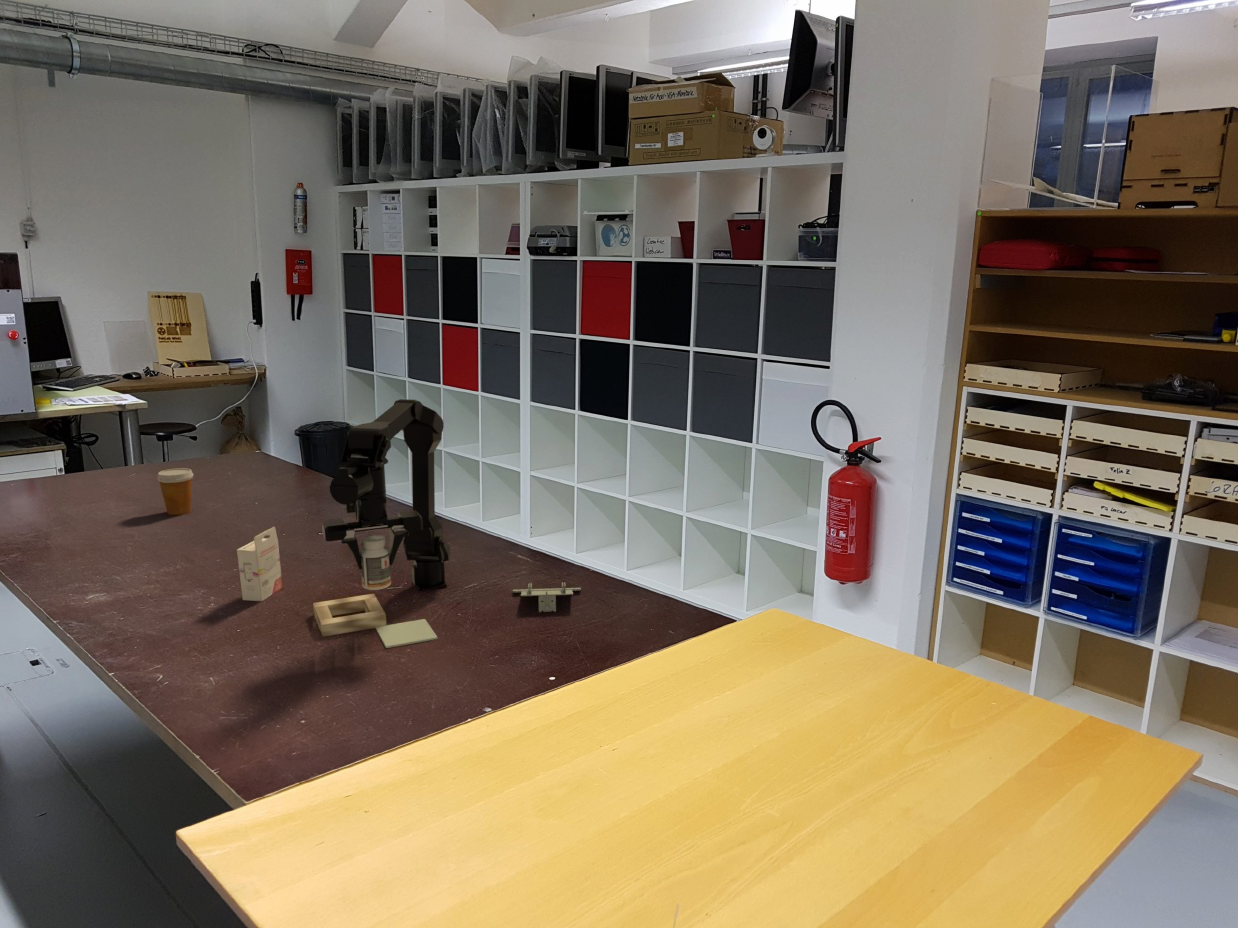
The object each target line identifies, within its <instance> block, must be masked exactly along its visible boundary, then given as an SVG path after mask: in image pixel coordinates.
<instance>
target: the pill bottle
mask: <svg viewBox="0 0 1238 928" xmlns="http://www.w3.org/2000/svg"><path fill="white" fill-rule="evenodd" d="M360 541H361V542H360V544H361V547H362V549H361V550H360V551H359V553H360V558H361V569H360V576H361V586H362V587H363V588H364V589H366V590H368V591H370V590H371V591H378V590H382V589H383V590H384V589H386V588H388V587H389V586H390V585H392V573H391V565H390V559H389V547H386V544H387V540H386V536H384V535H380V534H379V535H378V534H377V535H375V534H373V535H367V536H363V537H362V538H361V539H360Z"/></svg>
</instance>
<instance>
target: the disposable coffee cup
mask: <svg viewBox="0 0 1238 928" xmlns="http://www.w3.org/2000/svg"><path fill="white" fill-rule="evenodd" d="M193 478H194V473H193V471H192V469H191V468H188V467H187V468H186V467H185V468H184V467H183V468H182V467H181V468H179V467H177V468H169V469H164V470H160V471H159V472H158V474H157V476H156V479H157V480H158V482H159V486H160V490H161V493H162V494H161V495H162V498H163V501H164V506H165V509H166V513H167V514H168V515H169V516H180V515H181V516H182V515H187V514H189V513H190V512H191V513H192V503H193V500H192V499H193V497H192V496H193V494H192V492H193Z"/></svg>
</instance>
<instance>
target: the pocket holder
mask: <svg viewBox="0 0 1238 928" xmlns="http://www.w3.org/2000/svg"><path fill="white" fill-rule="evenodd" d="M312 604H313V605H312V606H313V615H314V618H315V621H316V623H317V626H318V629H319V631H320V633H321V636H322V637H329V636H334V635H335V636H336V635H340V634H346V633H353V632H358V631H364V630H369V629H376V627H380V626H386V625H387V615H386V611H385V610H384V609H383V607H382V605H381V604H380V602H379V600H378V598H377V597H376V595H375V593H369V594H363V595H354V596H351V597H344V598H338V599H331V600H324V601H319V602H318V601H317V602H313V603H312ZM363 611H364V613H363ZM357 612H358V613H357ZM359 612H362V613H359ZM351 613H357V614H352V615H351ZM346 614H348V615H346ZM349 614H350V615H349ZM340 615H345V616H340ZM333 616H337V617H333Z"/></svg>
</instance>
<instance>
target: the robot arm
mask: <svg viewBox="0 0 1238 928" xmlns="http://www.w3.org/2000/svg"><path fill="white" fill-rule="evenodd" d="M444 427H445V426H444V420H443V418H442V417H441V416H440V414H439V413H438V412H437V411H436V410H434V409H431V408H430V407H427V406H426V405H424V404H423V403H422V402H421V401H419V400H417V399H407V398H406V399H404V398H403V399H402V398H399V399H396V400H395V401H394V403H393V405H392V406H390V407H389V408H388V409H387V410H385V411H384V412H383V413H382V414H380V415H379V416H377V418H375V420H373V421H371V422H365V423H361V424H358V425H354V426H353V427H351V428H350V429H349V430H348V432H347V434H346V436H345V440H344V443H343V447H342V451H341V453H340V457H339V462H338V466H341V467H339V468H338V475H336V476H334V478H332V480H331V482H330V485H329V492H330V494H331V495H330V496H331V497H332V499H333V500H334V501H336V503H338V504H341V505H344V511H345V514H346V515H349V514H350V515H351V514H354V519H355V520H357V521H353V522H345V521H344V519H343V518H333V519H325V520H324V521H323V522H322V524H321V530H322V537H323V538H324V541H325V542H336V541H340V543H341V544H347V546H348V547H349V550H351V552H352V555H353V557H354V559H355V563H356V564H357V567H358V569H359V570H361V558H360V548H359V542H358V539H357V537H356V533H358V532H367V531H375V530H383V529H388V532H389V533H388V534H389V545H388V550H389V559H390V566H393V564H394V561H395V559H396V555H397V553H398V550H399V548H400V545H401V543H402V542H403V544H402V545H403V548H404V553H405V556H406V560H407V561H413V565H411V567H410V568H411V581H412V582H411V583H413V585H414V586H415V587H416V588H417V590H418V591H425V590H432V589H438V588H445V587H448V583H447V582H446V574H445V562H448V561H450V556H451V548H452V547H451V546H450V545H449V542H447V541H446V538H444V534H443V527H442V525H441V523H440V522H439V520H438V518H437V517H436V514H435V513H436V510H435V509H436V508H435V507H436V504H435V502H436V501H435V498H436V497H435V451H436V450H437V448H438V446H439V444H440V443H441V441H442V438H443V437H442V436H443V431H444ZM401 431H402V432H403V433H402V434H403V441H404V443H405V444H406V446H407V447H408V449H409V451H410V452H411V478H412V479H411V481H412V482H411V485H412V486H411V487H412V489H411V493H412V497H411V498H412V510H405V511H398V512H397V517H388V506H387V504H388V502H387V489H386V488H387V487H386V473H385V472H386V471H385V465H387V464H388V463H389V460H388V459H387V458H386V457H387V454H388V452H389V451H390V449H391V448H392V442H391V441H392V439H393V438H394V437H395V436H396V435H398V434H399V433H400V432H401Z"/></svg>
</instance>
